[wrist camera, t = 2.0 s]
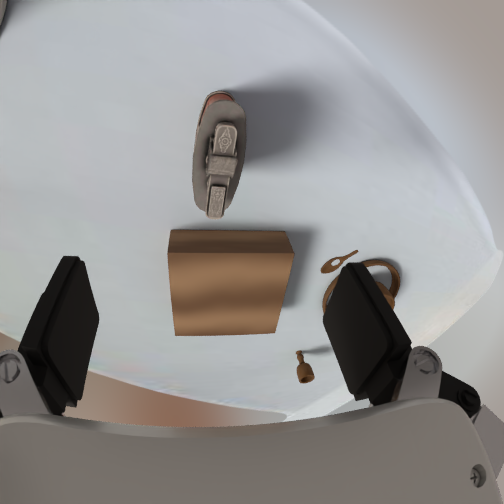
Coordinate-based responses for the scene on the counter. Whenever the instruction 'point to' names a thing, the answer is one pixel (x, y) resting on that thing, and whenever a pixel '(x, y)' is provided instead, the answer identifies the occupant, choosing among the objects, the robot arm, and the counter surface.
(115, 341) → the counter surface
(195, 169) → the lighter
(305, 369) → the place setting
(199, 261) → the walnut base
